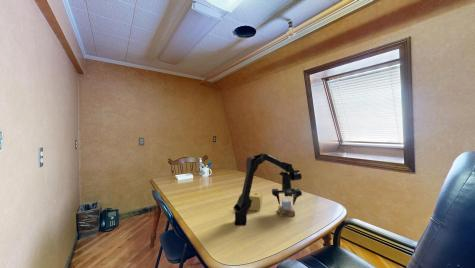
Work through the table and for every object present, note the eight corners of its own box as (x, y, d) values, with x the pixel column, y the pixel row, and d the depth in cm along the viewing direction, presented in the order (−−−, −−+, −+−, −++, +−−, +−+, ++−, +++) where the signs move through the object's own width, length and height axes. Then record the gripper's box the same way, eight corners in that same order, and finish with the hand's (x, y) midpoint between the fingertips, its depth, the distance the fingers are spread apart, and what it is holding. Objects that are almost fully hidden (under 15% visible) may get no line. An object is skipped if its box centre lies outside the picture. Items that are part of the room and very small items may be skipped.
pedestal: (280, 215, 123) (280, 211, 123) (278, 209, 132) (278, 205, 132) (294, 216, 123) (294, 211, 123) (291, 210, 132) (291, 205, 132)
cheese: (249, 203, 144) (249, 190, 143) (263, 205, 140) (263, 192, 140) (245, 209, 134) (244, 195, 133) (260, 211, 130) (260, 197, 130)
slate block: (283, 209, 125) (283, 202, 125) (281, 206, 130) (281, 199, 130) (290, 209, 125) (290, 202, 125) (289, 206, 130) (289, 199, 130)
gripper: (273, 185, 119) (273, 209, 120) (304, 185, 118) (304, 210, 119) (271, 180, 130) (271, 202, 131) (299, 180, 129) (299, 203, 130)
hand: (286, 204), depth 127 cm, fingers open, 9 cm apart
